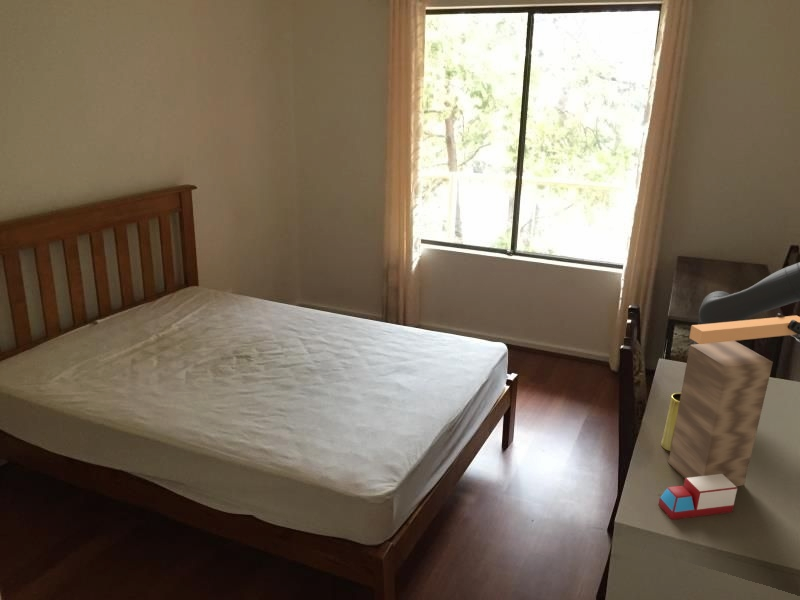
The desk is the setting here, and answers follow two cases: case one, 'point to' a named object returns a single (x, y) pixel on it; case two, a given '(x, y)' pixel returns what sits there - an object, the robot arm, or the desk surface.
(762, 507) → the desk surface
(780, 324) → the light orange bar
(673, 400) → the vase
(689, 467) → the pedestal
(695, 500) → the toy truck
